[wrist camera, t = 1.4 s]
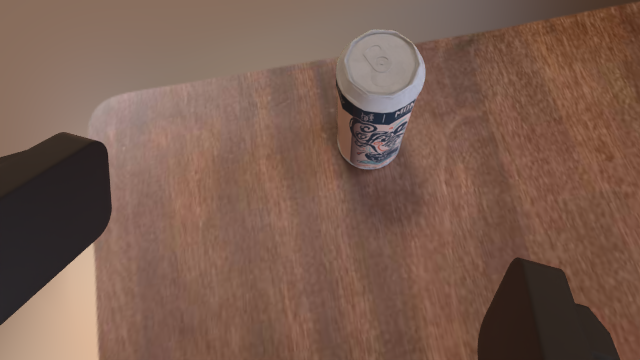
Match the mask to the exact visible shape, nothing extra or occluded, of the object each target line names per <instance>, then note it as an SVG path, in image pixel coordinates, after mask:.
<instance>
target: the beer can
mask: <svg viewBox="0 0 640 360" xmlns="http://www.w3.org/2000/svg"><path fill="white" fill-rule="evenodd" d="M424 81H425V65H424V61H423V58H422V56H421V55H420V53H419V51H418V49H417V48H416V47H415V45H414V43H412V42H411V41H410V40H408V39H407V38H405V37H404V36H402V35H401V34H400V33H398V32H397V31H394V30H370V31H368V32H367V33H365V34H363V35H361V36H359V37H357V38H356V39H354V40H353V41H352V42H350V43H349V44H348V45H347V46H346V47H345V48H344V50H343V51H342V53H341V54H340V57H339V59H338V62H337V66H336V103H337V142H338V147H339V150H340V152H341V154H342V156H343V157H344V158H345V159H346V160H347V161H348V162H349V163H350V164H352V165H354V166H355V167H358V168H361V169H369V170H371V169H378V168H381V167H383V166H385V165H387V164H388V163H390V162H391V161H392V160H393V159H394V158H395V157H396V155H397V154H398V152H399V149H400V145H401V140H402V137H403V135H404V132H405V129H406V126H407V124H408V121H409V118H410V115H411V112H412V110H413V107H414V104H415V101H416V99H417V96H418V94H419V93H420V91H421V90H422V87H423V84H424Z"/></svg>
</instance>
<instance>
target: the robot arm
mask: <svg viewBox="0 0 640 360" xmlns="http://www.w3.org/2000/svg"><path fill="white" fill-rule="evenodd" d="M111 210H112V205H111V191H110V177H109V163H108V152H107V149H106V147H105V145H104V144H103V143H101V142H99V141H96V140H92V139H88V138H84V137H81V136H77V135H74V134H70V133H66V132H62V133H58V134H56V135H54V136H52V137H51V138H48V139H47V140H45V141H43V142H41V143H39V144H37V145H35V146H34V147H32V148H30V149H28V150H25V151H22V152H18V153H15V154H11V155H7V156H4V157H0V325H1V324H3V323H4V322H5V321H6V320H7V319H8V318H9V317H10V316H11V315H13V314H14V313H15V312H16V311H17V310H18V309H19V308H20V307H21V306H23V305H24V304H25V303H26V302H27V301H28V300H29V299H30V298H31V297H32V296H34V295H35V294H36V293H37V292H38V291H39V290H40V289H42V288H43V287H44V286H45V285H46V284H47V283H48V282H49V281H50V280H52V279H53V278H54V277H55V276H56V275H57V274H58V273H59V272H61V271H62V270H63V269H64V268H65V267H66V266H67V265H68V264H70V263H71V262H72V261H73V260H74V259H75V258H76V257H77V256H78V255H79V254H81V253H82V252H83V251H84V250H85V249H86V248H87V247H88V246H90V245H91V244H92V243H93V242H94V241H95V240H96V239H97V238H98V237H99V236H100V235H101V234H102V233H103V232H104V230H105V229H106V227H107V225H108V222H109V220H110V216H111ZM478 360H620V358H619V355H618V353H617V350H616V348H615V345H614V343H613V340H612V338H611V335H610V333H609V332H608V331H607V329H606V328H605V327H604V326H603V325H602V323H601V322H600V321H599V320H598V318H597V317H596V316H595V315H594V314H593V312H592V311H591V310H590V309H589V308H588V307H587V306H583V305H580V304H576V303H575V302H574V299H573V296H572V293H571V291H570V288H569V285H568V282H567V279H566V276H565V273H564V272H563V270H561V269H558V268H555V267H551V266H547V265H544V264H540V263H536V262H533V261H529V260H526V259H522V258H518V257H517V258H515V259H514V260H513V261H512V262H511V264H510V265H509V267H508V269H507V271H506V273H505V275H504V277H503V280H502V282H501V284H500V286H499V288H498V290H497V292H496V294H495V296H494V298H493V300H492V302H491V304H490V306H489V308H488V310H487V312H486V315H485V317H484V319H483V322H482V325H481V328H480V333H479V338H478Z"/></svg>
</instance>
